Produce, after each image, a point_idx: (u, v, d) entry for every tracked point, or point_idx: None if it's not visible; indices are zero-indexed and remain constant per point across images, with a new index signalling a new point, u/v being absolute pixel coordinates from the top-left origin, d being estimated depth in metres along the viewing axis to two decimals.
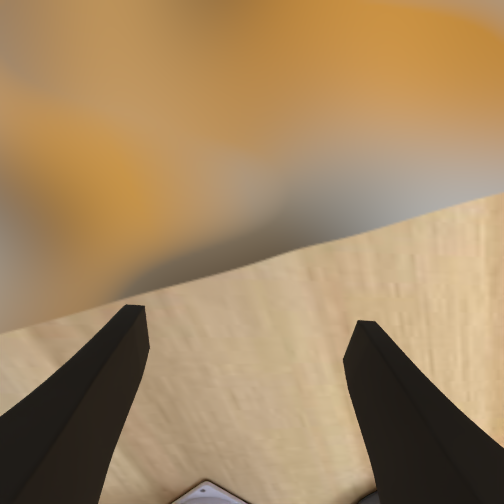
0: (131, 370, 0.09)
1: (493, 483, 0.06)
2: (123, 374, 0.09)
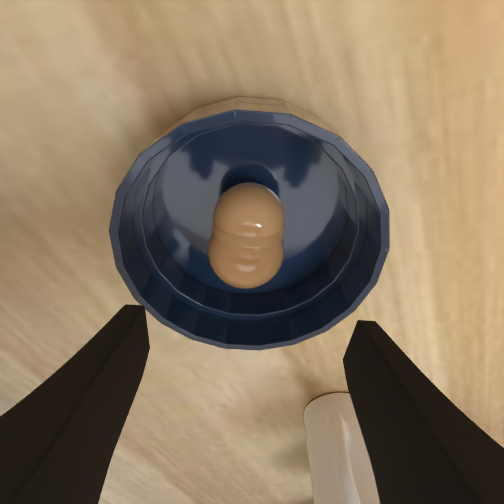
0: (131, 370, 0.09)
1: (493, 483, 0.06)
2: (123, 374, 0.09)
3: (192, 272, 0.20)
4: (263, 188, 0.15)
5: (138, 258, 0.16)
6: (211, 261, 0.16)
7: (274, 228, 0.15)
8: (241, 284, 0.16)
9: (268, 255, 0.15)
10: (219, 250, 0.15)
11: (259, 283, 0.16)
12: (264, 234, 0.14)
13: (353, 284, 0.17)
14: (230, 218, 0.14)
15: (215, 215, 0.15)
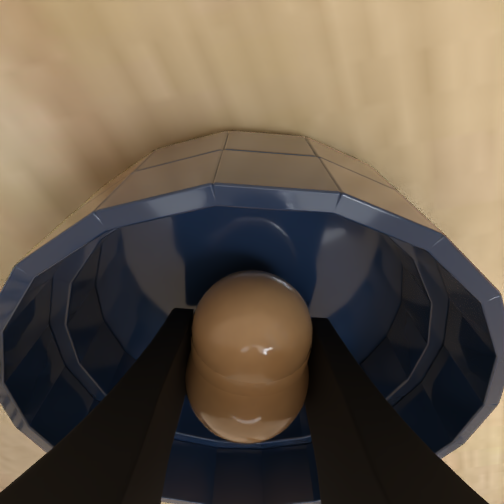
0: (183, 373, 0.09)
1: (405, 479, 0.05)
2: (179, 377, 0.09)
3: None
4: (277, 287, 0.09)
5: (67, 387, 0.10)
6: (192, 407, 0.09)
7: (301, 359, 0.08)
8: None
9: (291, 400, 0.09)
10: (206, 398, 0.09)
11: (275, 436, 0.09)
12: (285, 374, 0.08)
13: (416, 426, 0.10)
14: (224, 353, 0.08)
15: (195, 339, 0.09)
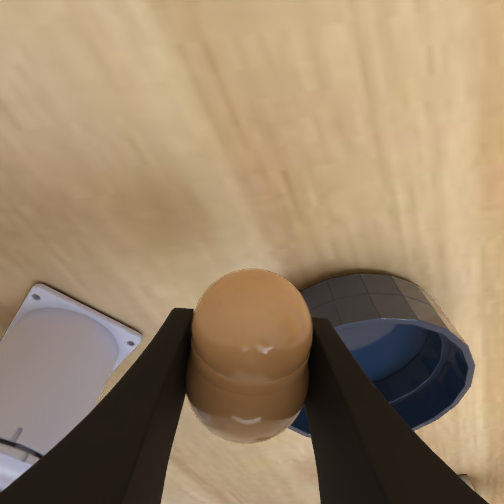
0: (183, 373, 0.09)
1: (404, 479, 0.05)
2: (179, 377, 0.09)
3: None
4: (277, 286, 0.09)
5: None
6: (192, 407, 0.09)
7: (301, 358, 0.08)
8: (244, 443, 0.09)
9: (291, 400, 0.09)
10: (206, 397, 0.09)
11: None
12: (285, 373, 0.08)
13: (434, 398, 0.22)
14: (224, 352, 0.08)
15: (195, 338, 0.09)
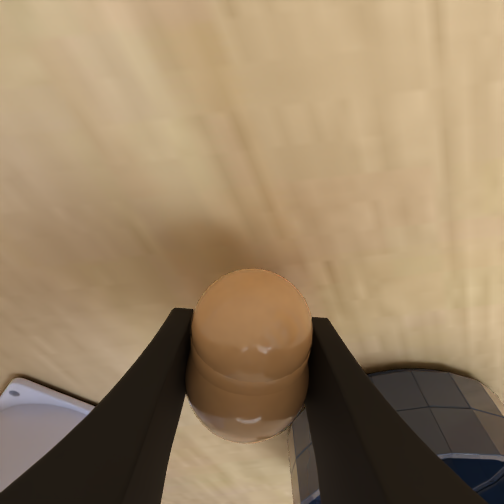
0: (183, 373, 0.09)
1: (405, 479, 0.05)
2: (179, 377, 0.09)
3: None
4: (277, 286, 0.09)
5: None
6: (192, 406, 0.09)
7: (301, 358, 0.08)
8: (244, 443, 0.09)
9: (291, 399, 0.09)
10: (205, 397, 0.09)
11: (275, 435, 0.09)
12: (285, 373, 0.08)
13: None
14: (224, 352, 0.08)
15: (195, 338, 0.09)
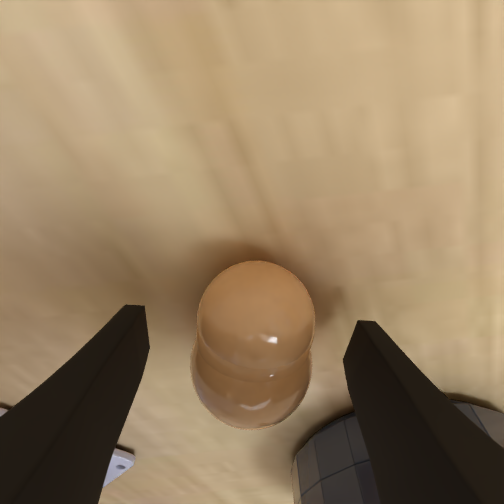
0: (131, 370, 0.09)
1: (493, 483, 0.06)
2: (123, 374, 0.09)
3: None
4: (281, 276, 0.09)
5: None
6: (200, 397, 0.09)
7: (306, 344, 0.09)
8: (252, 429, 0.10)
9: (297, 385, 0.09)
10: (214, 386, 0.09)
11: None
12: (292, 359, 0.08)
13: None
14: (233, 341, 0.08)
15: (203, 329, 0.09)
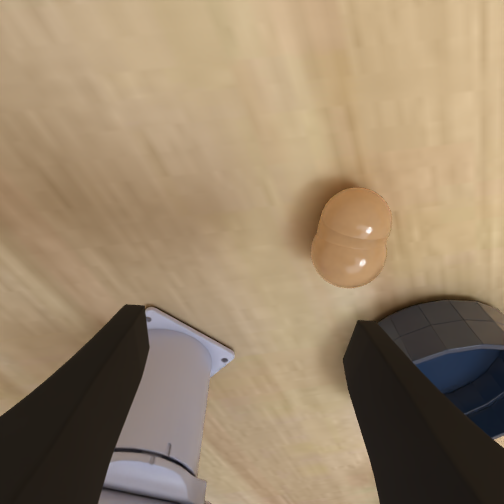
0: (131, 370, 0.09)
1: (493, 483, 0.06)
2: (123, 374, 0.09)
3: None
4: (374, 192, 0.16)
5: None
6: (326, 266, 0.16)
7: (389, 229, 0.16)
8: (356, 284, 0.17)
9: (383, 254, 0.16)
10: (339, 255, 0.16)
11: None
12: (384, 235, 0.16)
13: None
14: (355, 224, 0.15)
15: (333, 222, 0.16)
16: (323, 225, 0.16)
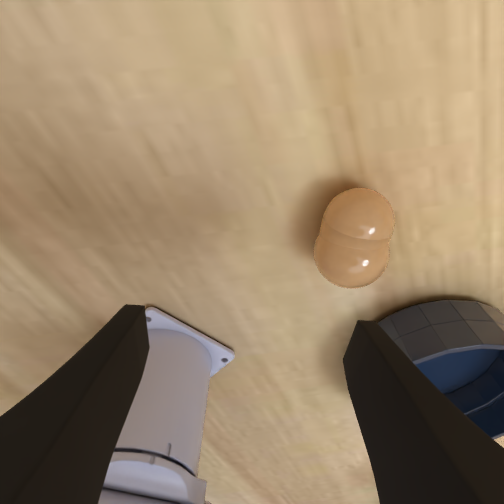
0: (131, 370, 0.09)
1: (493, 483, 0.06)
2: (123, 374, 0.09)
3: None
4: (377, 192, 0.16)
5: None
6: (332, 267, 0.16)
7: (393, 228, 0.16)
8: (361, 284, 0.17)
9: (387, 253, 0.16)
10: (345, 256, 0.16)
11: (375, 280, 0.17)
12: (388, 235, 0.16)
13: None
14: (361, 224, 0.15)
15: (338, 223, 0.16)
16: (327, 227, 0.16)
